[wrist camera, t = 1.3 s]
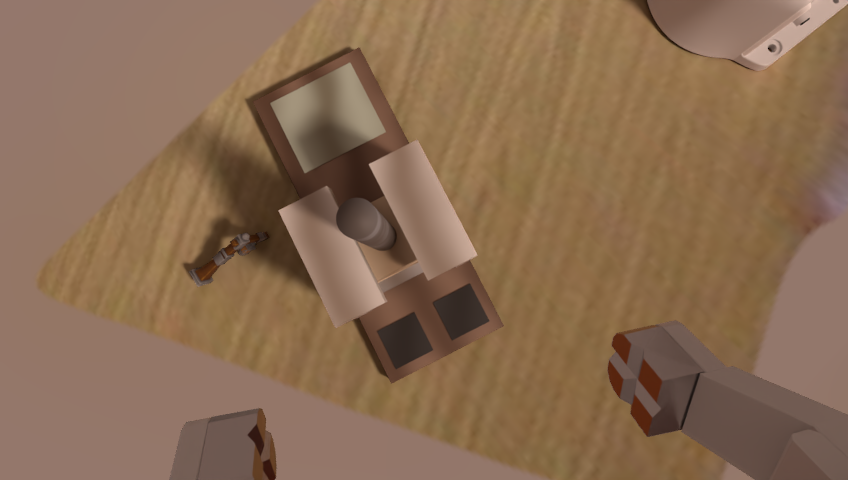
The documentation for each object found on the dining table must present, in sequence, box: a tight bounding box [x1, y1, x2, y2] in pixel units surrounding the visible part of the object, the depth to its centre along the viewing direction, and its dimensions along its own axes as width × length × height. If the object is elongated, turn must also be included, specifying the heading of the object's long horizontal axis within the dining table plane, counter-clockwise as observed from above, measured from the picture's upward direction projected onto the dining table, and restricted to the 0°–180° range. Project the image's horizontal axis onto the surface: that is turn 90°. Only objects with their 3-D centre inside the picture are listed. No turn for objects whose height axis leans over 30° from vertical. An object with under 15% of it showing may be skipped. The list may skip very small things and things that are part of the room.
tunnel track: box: [253, 48, 504, 384], centre depth 44 cm, size 12×31×12 cm, turn 27°
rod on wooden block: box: [336, 196, 423, 293], centre depth 38 cm, size 7×8×19 cm
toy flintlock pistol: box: [189, 232, 269, 287], centre depth 49 cm, size 2×8×4 cm, turn 123°
